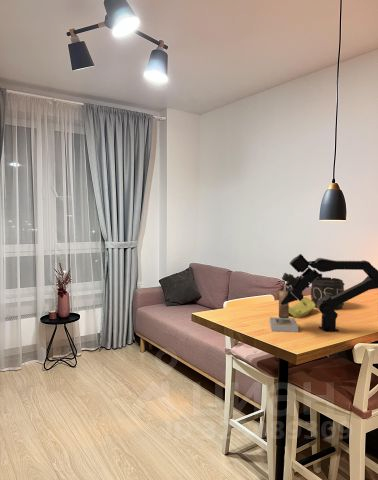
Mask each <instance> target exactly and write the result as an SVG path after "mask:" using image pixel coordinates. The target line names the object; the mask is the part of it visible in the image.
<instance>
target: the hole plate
mask: <svg viewBox="0 0 378 480" xmlns="http://www.w3.org/2000/svg"><path fill="white" fill-rule="evenodd" d="M269 326H270V330H271V332H287V333H289V332H290V333H292V332H293V333H299V324H298V323H297V320H296V319H295V317H292V318H291V317H289V318H279V317H269Z"/></svg>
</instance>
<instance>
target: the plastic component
mask: <svg viewBox="0 0 378 480" xmlns="http://www.w3.org/2000/svg"><path fill="white" fill-rule="evenodd" d="M314 309H315V303H314V302H313V301H312V300H311V298H308V297H307V296H303V299H302V300H301V301H299V300H298V302H297V303H296V304H294V305H292V306H289V314H290V315H291V316H292V317H293V318H296V319H300V318H303V317H305V316H307V315H309V313H311V311H313V310H314Z"/></svg>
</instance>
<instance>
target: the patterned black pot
mask: <svg viewBox="0 0 378 480" xmlns="http://www.w3.org/2000/svg"><path fill="white" fill-rule="evenodd" d="M344 286H345V283H344V281H343V280H342V279H340V278H336V277H332V278H331V277H328V276H325V277H324V276H322V280H320V279H319V278H316V279H315V280H314V281H313V282H312V283H311V287H310V300H312V301H313V302H314V303H315V307H314V309H315V308H316V309H318V308H317V301H318V300H320V298H322V297H324V296H325V295H327V294H328V295H329V296H330V297H331V296H335V295H337V294H339V293H341V292H343V291H345V288H344ZM344 305H345V302H344V303H342V304H340V305H339V306H338V307H337V308H336V309H335V310H334V311H336V310H337V311H338V310H341V309H342V308H343V306H344Z"/></svg>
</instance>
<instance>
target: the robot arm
mask: <svg viewBox="0 0 378 480" xmlns="http://www.w3.org/2000/svg"><path fill="white" fill-rule="evenodd" d="M289 265H290V266H291V267H292V268H293V269H294V270H295V271H296V272H297V273H301V275H300V276H299V275H296V276H294V275H293V274H291V273H287V272H284V274H283V276H282V277H281V279H282V281H284V282H286V283H285V286H284V287H285V288H284V289H285V291H288V293H287V295H286V297H285V298H284V299H283V300H282V302H281V305H284V304H287V303H289V304H290V303H292V302H295V301H296V302H297V301H298V302H299V301H301V300H302V299H303V297H304V294H303V292H304V291H305V290H306V289H309V288H310V285H312V282H313V281H314V280H315V279H316V278H319V279H320V280H322V277H323V274H322V273H326V272H332V271H336V270H341V271H342V270H347V271H348V270H351V271H352V270H355V271H358V270H359V271H361V270H362V271H363V272H364V273H365V274H366V275H367V276H366V277H365V278H364V279H363V281H361V282H358V283H357V284H355V285H353V286H351V287H349V288H347V289H344V291H343V292H341V293H339V294H337V295H335V296H331V297H330V296H329V295H328V294H327V295H325V296H324V297H322V298H320V300H318V301H317V308H316V309H317V310H318V311H320V313H321V321H320V322H321V324H320V325H321V326H318V329H319V330H322V331H324V332H327V333H329V332H339V328H337V326H336V325H337V317H338V315H339V314H338V313H337V312H336V310H335V309H336V308H337V307H338V306H339V305H340V304H342V303H344V304H345V302H348V301H349V300H351V299H353V298H355V297H358V296H360V295H362V294H364V293H366V292H368V291H370V290H377V289H378V269H377V268H376V267H374V266H373V265H372V264H371V263H370V262H369V261H367V260H333V259H329V258H324V257H323V258H322V257H317V258H316V259H315V260H310V261H309V260H307V259H306V258H305V257H304V255H303V254H301V253H300V254H298V255H297V256H295V257H293V259H291V261H290V262H289ZM318 271H319V272H320V273H319V272H318Z"/></svg>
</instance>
